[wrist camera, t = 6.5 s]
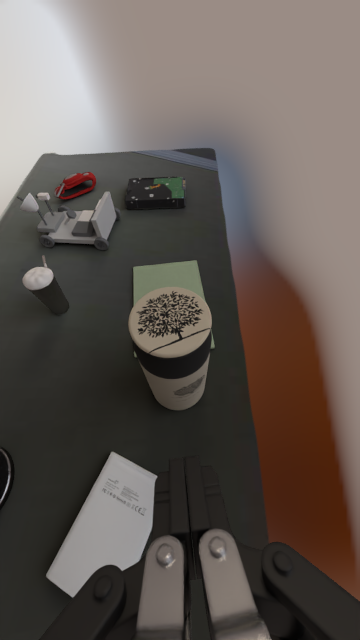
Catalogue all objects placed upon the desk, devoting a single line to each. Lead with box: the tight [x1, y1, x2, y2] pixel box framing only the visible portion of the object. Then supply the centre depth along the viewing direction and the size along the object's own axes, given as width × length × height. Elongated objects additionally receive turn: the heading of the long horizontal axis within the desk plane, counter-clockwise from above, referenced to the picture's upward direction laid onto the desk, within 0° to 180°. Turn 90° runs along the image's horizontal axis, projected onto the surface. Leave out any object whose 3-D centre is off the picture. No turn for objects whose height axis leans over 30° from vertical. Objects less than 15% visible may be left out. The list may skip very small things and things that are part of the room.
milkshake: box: [23, 255, 69, 315], centre depth 42 cm, size 4×5×10 cm
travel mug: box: [128, 287, 212, 410], centre depth 30 cm, size 8×8×18 cm
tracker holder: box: [54, 172, 96, 199], centre depth 66 cm, size 12×4×10 cm
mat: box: [133, 260, 215, 358], centre depth 45 cm, size 20×13×1 cm, turn 6°
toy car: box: [17, 192, 121, 250], centre depth 53 cm, size 18×10×12 cm
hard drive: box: [46, 452, 158, 598], centre depth 28 cm, size 2×8×12 cm
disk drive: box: [125, 177, 185, 209], centre depth 63 cm, size 10×3×15 cm
